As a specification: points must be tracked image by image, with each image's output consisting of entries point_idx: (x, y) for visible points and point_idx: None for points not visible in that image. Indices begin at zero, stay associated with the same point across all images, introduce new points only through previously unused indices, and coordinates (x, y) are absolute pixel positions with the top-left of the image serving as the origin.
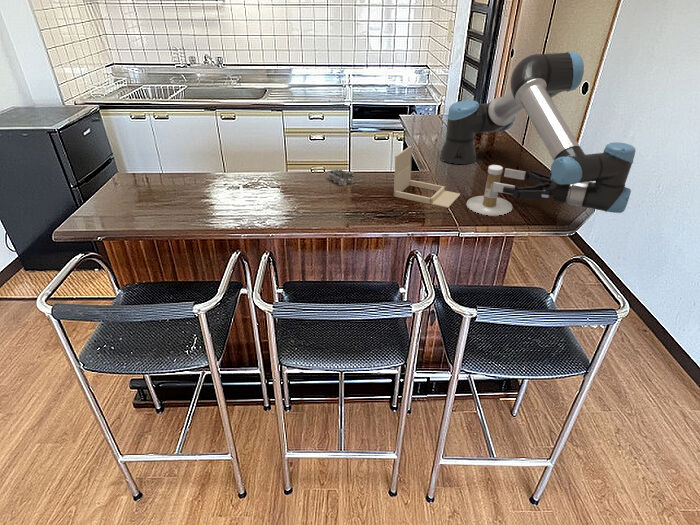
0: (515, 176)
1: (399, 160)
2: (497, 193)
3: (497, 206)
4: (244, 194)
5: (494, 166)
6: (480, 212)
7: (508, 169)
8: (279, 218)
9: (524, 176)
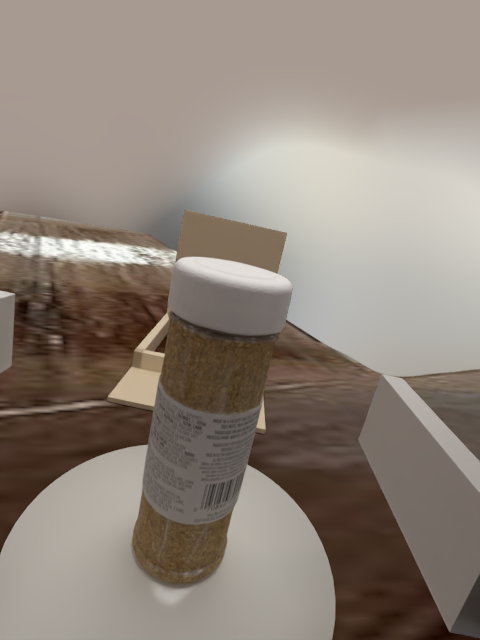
0: (406, 498)
1: (199, 232)
2: (174, 491)
3: (162, 600)
4: (115, 251)
5: (245, 268)
6: (37, 499)
7: (393, 388)
8: (25, 252)
9: (476, 586)
